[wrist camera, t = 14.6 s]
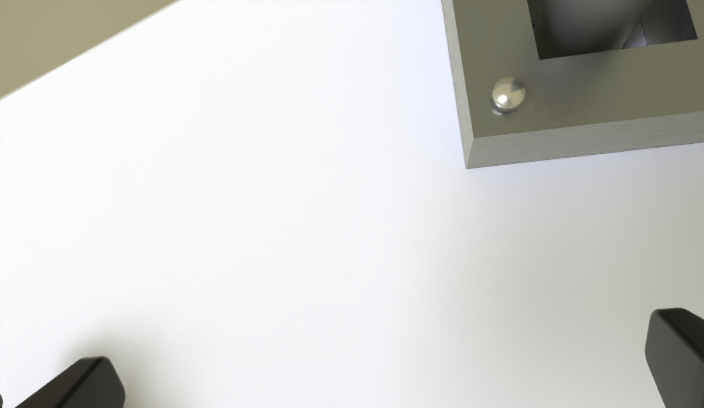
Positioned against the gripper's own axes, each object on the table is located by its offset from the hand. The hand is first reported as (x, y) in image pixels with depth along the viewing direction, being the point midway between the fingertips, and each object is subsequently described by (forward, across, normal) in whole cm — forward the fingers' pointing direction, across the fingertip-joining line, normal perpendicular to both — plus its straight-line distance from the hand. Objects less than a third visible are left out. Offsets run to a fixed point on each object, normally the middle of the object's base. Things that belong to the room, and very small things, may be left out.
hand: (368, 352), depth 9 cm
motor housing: (+19, -10, 0) cm, 22 cm away
